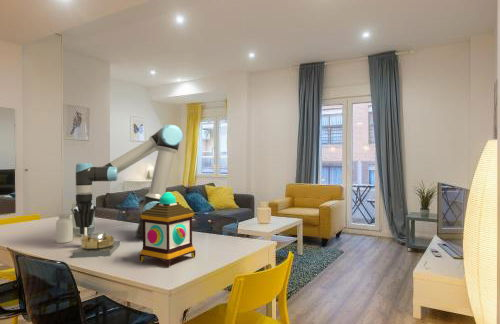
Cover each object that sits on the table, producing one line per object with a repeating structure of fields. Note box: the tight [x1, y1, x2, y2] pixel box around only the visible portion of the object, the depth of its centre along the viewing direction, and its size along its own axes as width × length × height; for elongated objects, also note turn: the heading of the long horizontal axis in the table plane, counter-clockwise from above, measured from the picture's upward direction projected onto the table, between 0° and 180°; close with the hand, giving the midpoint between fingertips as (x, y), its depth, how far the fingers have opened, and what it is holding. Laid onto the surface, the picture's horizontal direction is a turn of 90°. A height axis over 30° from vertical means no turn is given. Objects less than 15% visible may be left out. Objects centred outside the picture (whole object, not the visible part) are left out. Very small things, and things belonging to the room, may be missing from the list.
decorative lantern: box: [138, 191, 196, 268], centre depth 149 cm, size 20×20×30 cm
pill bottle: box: [55, 213, 74, 244], centre depth 184 cm, size 8×8×15 cm
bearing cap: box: [72, 232, 121, 259], centre depth 164 cm, size 16×20×8 cm
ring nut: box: [80, 233, 115, 249], centre depth 166 cm, size 22×13×4 cm, turn 47°
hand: (84, 240), depth 170 cm, fingers closed
